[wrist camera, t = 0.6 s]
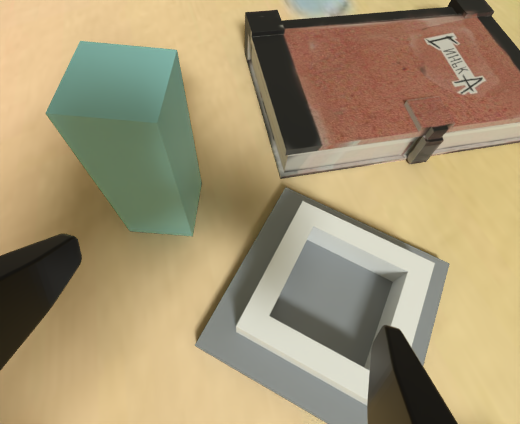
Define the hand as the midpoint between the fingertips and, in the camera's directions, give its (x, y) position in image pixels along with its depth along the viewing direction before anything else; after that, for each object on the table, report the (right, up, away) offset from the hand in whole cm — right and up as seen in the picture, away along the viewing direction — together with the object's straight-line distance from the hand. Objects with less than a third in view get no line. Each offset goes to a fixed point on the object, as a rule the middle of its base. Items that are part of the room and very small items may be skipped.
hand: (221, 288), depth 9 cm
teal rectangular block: (-7, +3, +18) cm, 20 cm away
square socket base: (+6, -5, +15) cm, 17 cm away
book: (+14, +14, +26) cm, 33 cm away
